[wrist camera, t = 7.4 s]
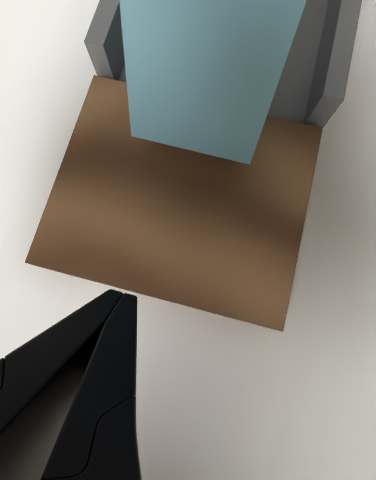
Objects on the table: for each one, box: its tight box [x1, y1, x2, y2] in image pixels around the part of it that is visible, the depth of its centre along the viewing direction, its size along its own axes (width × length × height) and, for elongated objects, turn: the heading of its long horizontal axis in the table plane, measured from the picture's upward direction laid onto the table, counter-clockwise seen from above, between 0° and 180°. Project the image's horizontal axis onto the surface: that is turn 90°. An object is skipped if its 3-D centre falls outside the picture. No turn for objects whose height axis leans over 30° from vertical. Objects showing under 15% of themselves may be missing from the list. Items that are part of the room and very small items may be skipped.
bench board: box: [25, 75, 322, 331], centre depth 18 cm, size 11×13×2 cm
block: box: [119, 0, 307, 164], centre depth 14 cm, size 7×6×9 cm
